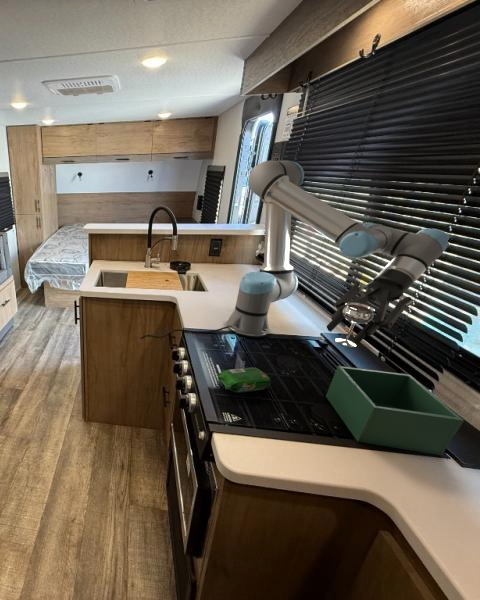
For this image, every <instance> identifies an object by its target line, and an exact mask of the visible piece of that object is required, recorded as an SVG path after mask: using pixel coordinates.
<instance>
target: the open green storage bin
mask: <svg viewBox="0 0 480 600" xmlns="http://www.w3.org/2000/svg"><path fill="white" fill-rule="evenodd" d="M325 397H326V399H327V401H328V402H329V404H330V405H331V406H332V407H333V409H334V410H335V412H336V413H337V415H338V416H339V417H340V419H341V420H342V422H343V423H344V425H345V426H346V427H347V429H348V430H349V432H350V433H351V434H352V436H353V438H354V439H355V440H356V442H358V443H364V444H368V445H369V444H370V445H375V446H382V447H387V448H392V449H400V450H406V451H412V452H416V453H422V454H429V455H436V456H442V455H443V454H444V453H445V451H446V450H447V448H448V446H449V445H450V444H451V442H452V441H453V438H454V437H455V436H456V434H457V433H458V431H459V430H460V428H461V426H462V425H463V424H464V422H465V420H464V419H463V418H462V417H461V416H460V415H459V414H457V413H456V412H455V411H453V410H452V408H450V407H449V406H448V405H447V404H445V403H444V402H443V401H442V400H441V399H439V398H438V397H437V396H436V395H435V394H434V393H432V391H430V390H429V389H428V388H427V387H425V386H424V385H423V384H422V383H421V382H419V381H418V380H417V379H416V378H415V377H413V375H411V374H409V373H408V374H407V373H398V372H392V371H391V372H390V371H382V370H375V369H374V370H373V369H365V368H357V367H350V366H341V365H337V367H336V370H335V372H334V375H333V377H332V380H331V382H330V384H329V387H328V390H327V392H326V395H325Z"/></svg>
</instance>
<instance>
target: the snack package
mask: <svg viewBox="0 0 480 600" xmlns="http://www.w3.org/2000/svg"><path fill="white" fill-rule="evenodd" d="M217 379H218V381H220V382H222V384H223V385H224V389H225V390H226V391H231V392H233V393H249V392H256V391H263V390H265V389H267V388H269V387H270V386H271V384H272V380H271V378H270V377H269V376H268V374H266V373H265V372H263V371H262V370H260V369H259V368H257V367H254V366H253V367H243V368H231V369H226V370H224V371H222V372H220V373H219V375H217Z"/></svg>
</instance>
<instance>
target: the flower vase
mask: <svg viewBox="0 0 480 600" xmlns="http://www.w3.org/2000/svg"><path fill="white" fill-rule="evenodd" d="M255 249H257V250H256V251H255V253H256V254H255V256H256V257H257V256H258V255H259V254H264V249H265V240H262V241H261V242H260V243H258V246H257V245H256V247H255Z"/></svg>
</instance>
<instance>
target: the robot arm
mask: <svg viewBox="0 0 480 600" xmlns="http://www.w3.org/2000/svg"><path fill="white" fill-rule="evenodd" d="M304 179H305V171H304V168H303V167H302V165H301V164H300V163H298V162H296V161H292V160H288V159H285V160H266V161H262V162H260V163H259V164H257V165H255V166H254V167H253V169H252V170H251V171H250V173H249V175H248V180H247V181H248V182H247V183H248V187H249V189H250V191H251V192H252V193H254V194H255V195H257V197H259V198H260V199H261V201H262V202H263V203H264V205H265V220H264V221H265V223H264V228H265V229H264V243H265V249H264V253H263V256H264V257H263V264H262V265H261V266H260V267H259V271H251V272H246V273H245V274H244V275H243V276H242V277H241V281H240V283H239V287H238V292H237V297H236V303H235V307H234V310H233V311H232V313H230V316H229V317H228V319H227V321H226V326H224V327H220V328H218V329H212V330H190V329H182V328H179V329H178V328H176V329H172V330H169V331H168V332H167V333H165V334H162V335H154V334H144V335H142V336H141V337H140V338H139V339H140V340H143V339H144V338H147V337H148V338H149V337H150V338H156V339H161V338H165V337H166V336H168V335H169V334H171V333H174V332H186V333H191V334H208V333H214V332H215V333H216V332H219V331H223V330H226V329H228V330H229V331H231V332H232V333H233V334H235V335H239V336H241V337H245V338H249V339H261V338H265V337H267V336H268V334H269V329H270V327H269V319H268V313H269V310H270V306H271V304H273V303H274V302H277V301H280V300H284V299H287V298H289V297H291V295H293V294H294V293H295V292H296V290H297V288H298V287H299V280H298V277H297V275H295V273H294V266H293V265H292V264H290V252H291V249H290V248H291V230H292V216H293V217H295V218H296V219H298V220H300V222H303V223H304V224H305V225H307V226H309V227H310V228H312V229H313V230H314V231H316V232H318V233H319V234H321V235H322V236H323V237H325V238H327V239H328V240H330V241H331V242H333V243H334V244H336V245H337V246H338V248H339V250H340V252H341V254H342V255H343V256H345V257H347V258H350V259H361V258H367V257H370V256H371V255H374V254H377V253H380V254H384V255H388V256H390V257H393V258H392V259H391V261H390V262H388V264H386V265H385V266H384V268H383V269H382V270H381V271H380V272H379V273H378V274H377V275H376V276H375V277H374V278H373V280H372V281H371V282H369V283H366V284H365V283H360V282H359V281H355V282H354V284H353V286H352V287H351V288H350V289H349V290H348V291H347V292H346V293H345V294H343V295H342V296H341V297H339V299H338V300H336V301H335V302H334V303H333V306H334V308H335V310H336V311H335V312H334V313H333V314H332V315H331V321H330V322H329V323H328V324H327V325H326V326H325V327H326V329H327V331H328V332H330V333H331V332H332V331H333V330H334V329H336V328H337V326H338V325H339V324H340V323H341V322H342V321H343V320H344V319H345V317H344V316H343V309H344V307H346V303H347V302H357V303H362V304H366V303H368V302H371V301H372V302H377V303H379V306H378V307H377V308H378V309H377V310H376V311H377V312H376V315H375V317H374V319H373V321H372V320H370V321H369V322H367V323H366V324H365V325H364V326H363V327H362V329H360V331H358V333H357V334H356V335H355V336H354V337H353V342H354V343H355V344H356V345H358V344H359V345H360V343H361V342H362V341H363V340H364V339H365V338H366V337H367V336H372V335H374V334H375V332H376V331H378V329H380V328H384V329H387V330H390V329H391V328H392V327H393V326H394V324H395V323H396V321H398V319H399V317H400V316H401V315H402V313H403V312H404V311H405V310H406V309H407V308H408V307H410V306H412V305H413V299H412V297H411V296H405V295H404V293H405V292H407V291H408V290H409V289H410V288H411V287H412V285H413V284H414V282H416V281H418V279H419V278H420V277H421V276H422V275H423V274H424V273H425V272H426V271H427V269H429V268H430V266H431V265H432V264H433V263H435V262H436V261H437V260H438V259H439V257H440V256H442V254H443V253H444V252H445V251H446V250H447V248H448V247H449V246H450V245H449V243H448V240H449V238H451V236H450V235H449V234H448V233H447V232H446V231H444V230H441V229H438V228H423V229H420V230H419V231H418V232H416V233H414V232H410V231H406V230H405V231H404V230H400V229H397V228H395V227H394V228H393V227H390V226H387V225H383V224H382V223H381V224H380V223H373V222H365V223H364V224H363V225H362V224H361V223H359V222H358V221H356V220H355V219H353V218H352V217H349V216H348V215H347V214H345V213H343V212H341V211H340V210H338V209H336V208H335V207H333V206H332V205H330V204H328V203H326V201H325V202H324V201H323V200H321V199H320V198H318V197H316V196H314V195H313V194H311V193H310V192H308V191H306V190H305V189H303V188H301V187H300V186H302V184H303V182H304ZM449 236H450V237H449ZM448 245H449V246H448ZM447 246H448V247H447ZM364 290H365V291H364ZM363 291H364V292H363ZM360 292H362V293H361V294H360V295H359V293H360ZM357 295H358V296H357ZM356 296H357V297H356ZM397 300H398V303H397V304H395V307H393V309H392V311H391V312H390V313H389V314H388V316H387V317H386V318H385V316H386V314H387V310H388V308H389V305H390V303H391V302H395V301H397Z"/></svg>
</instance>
